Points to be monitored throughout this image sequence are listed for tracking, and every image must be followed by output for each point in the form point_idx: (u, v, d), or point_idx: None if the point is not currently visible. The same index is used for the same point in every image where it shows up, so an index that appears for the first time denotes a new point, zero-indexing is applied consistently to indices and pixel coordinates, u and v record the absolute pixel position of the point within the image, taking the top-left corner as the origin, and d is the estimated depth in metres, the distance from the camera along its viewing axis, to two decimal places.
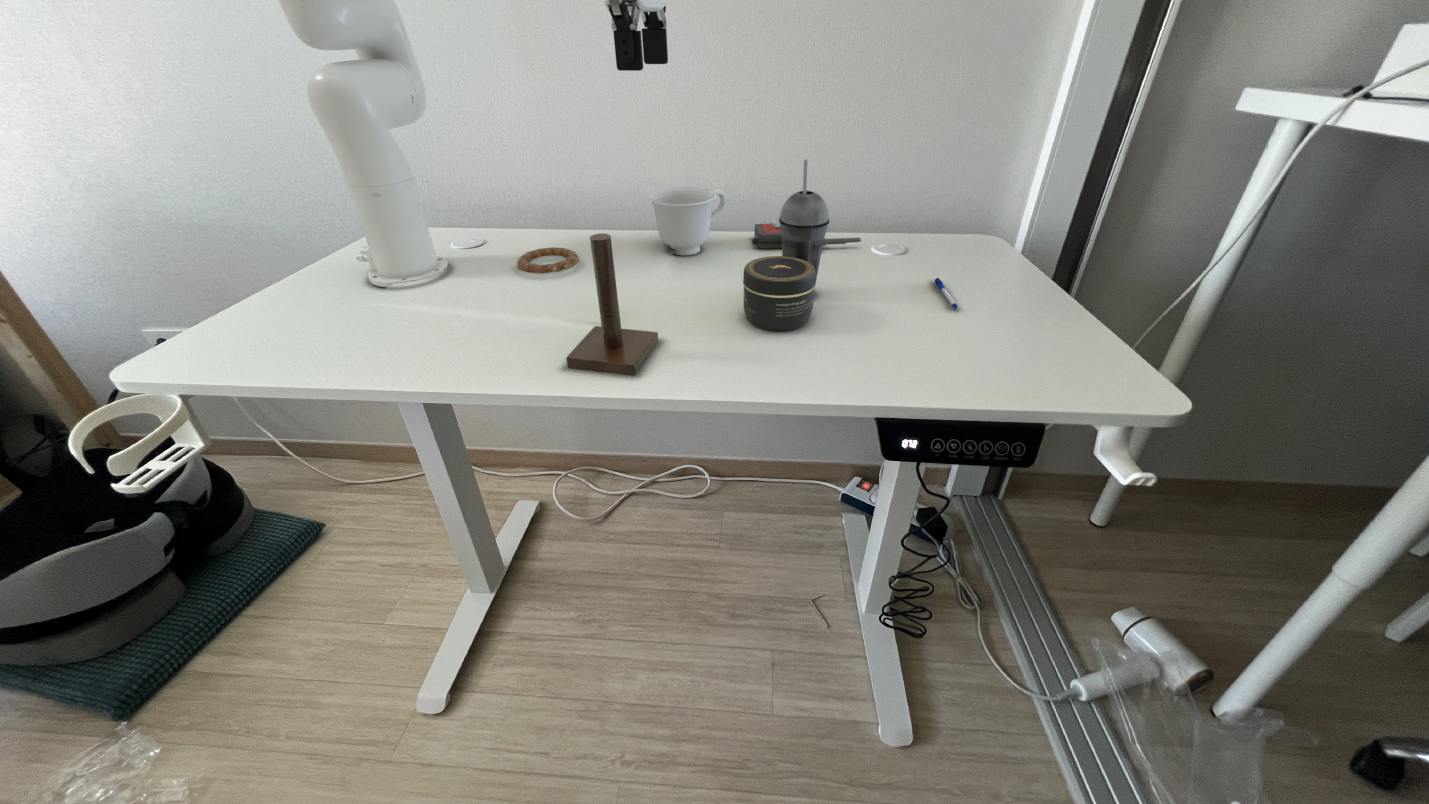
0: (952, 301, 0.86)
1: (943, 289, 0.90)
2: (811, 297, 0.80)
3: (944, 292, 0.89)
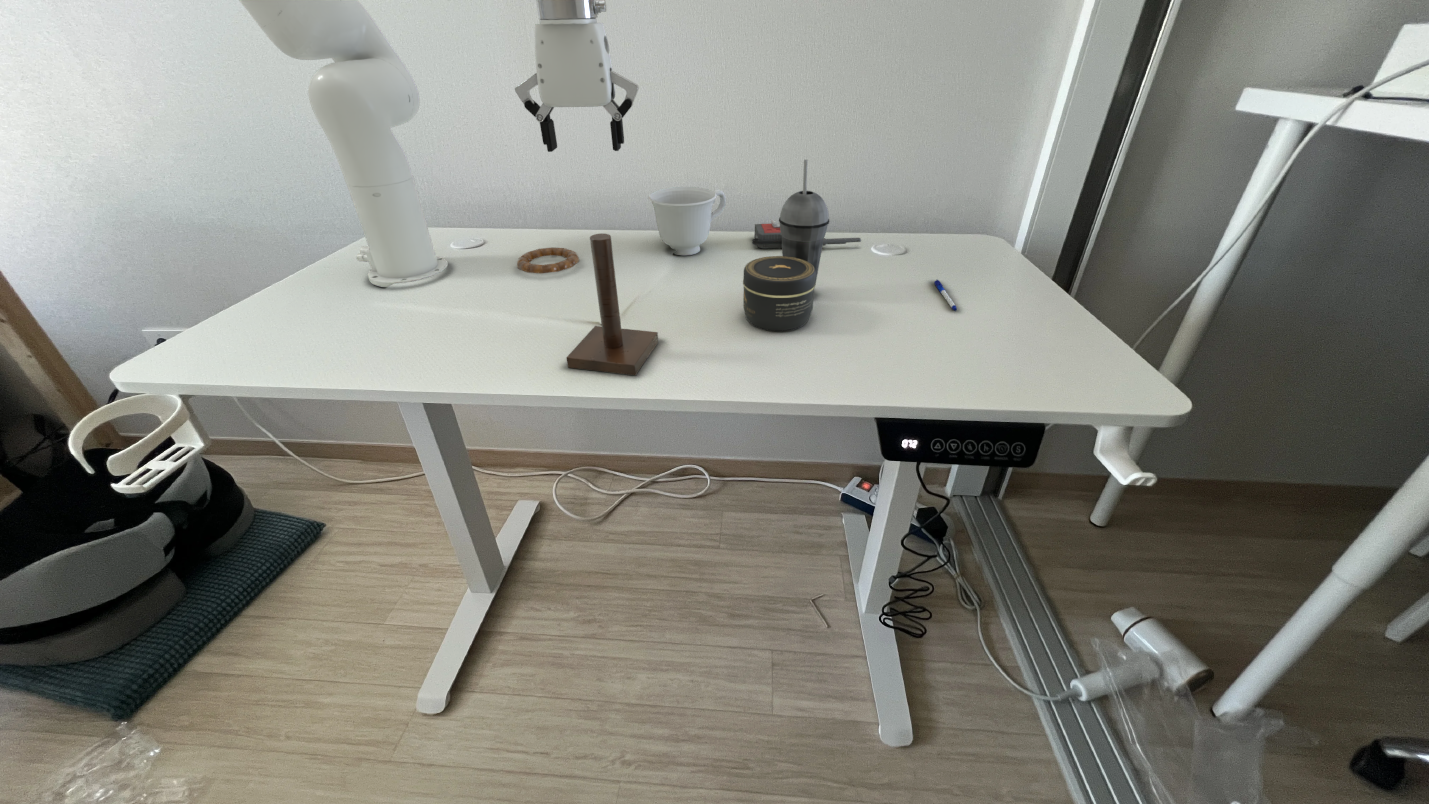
0: (951, 303, 0.87)
1: (943, 291, 0.90)
2: (811, 297, 0.80)
3: (944, 294, 0.90)
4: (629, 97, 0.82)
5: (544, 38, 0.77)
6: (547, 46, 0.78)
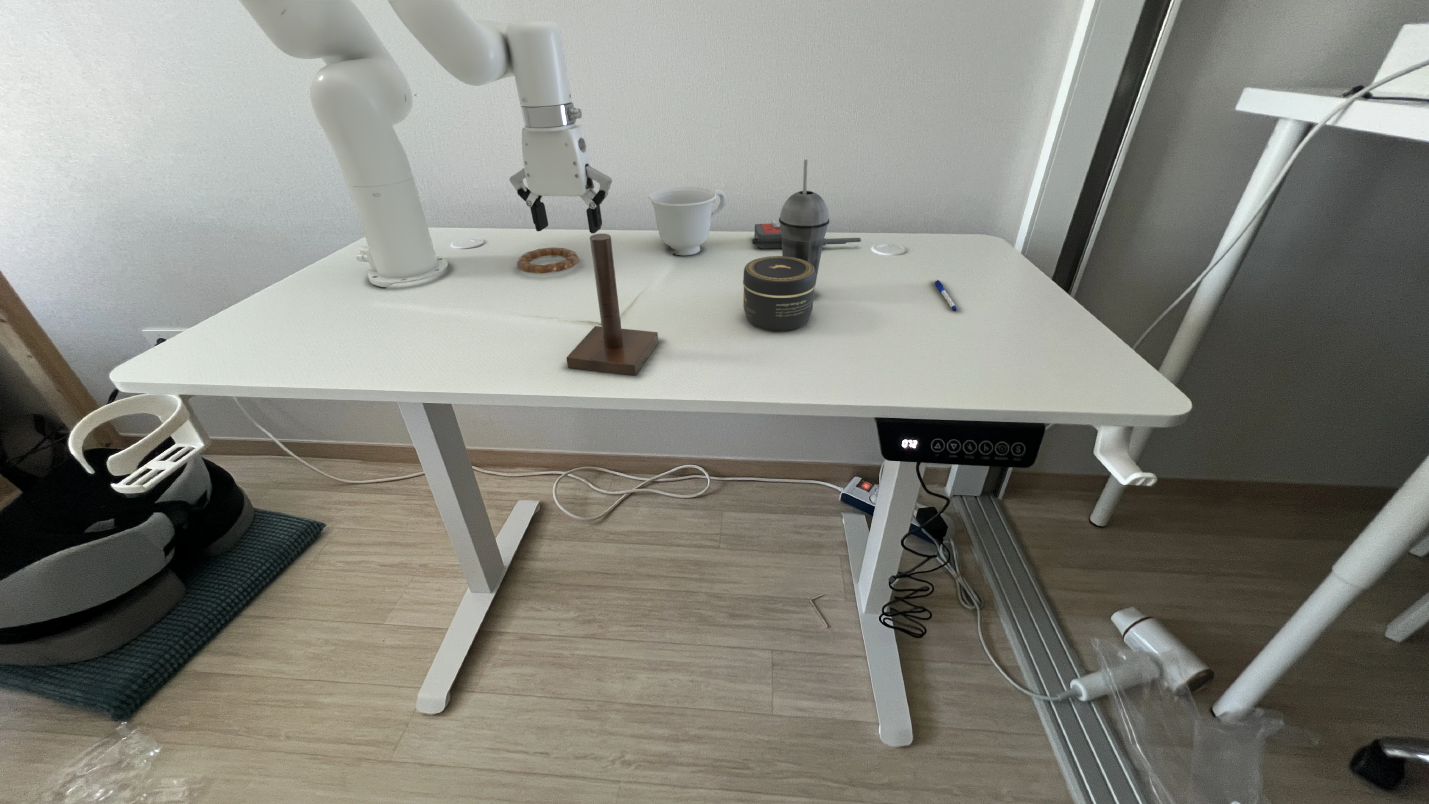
0: (951, 303, 0.87)
1: (943, 291, 0.90)
2: (811, 297, 0.80)
3: (944, 294, 0.90)
4: (602, 189, 0.92)
5: (528, 141, 0.89)
6: (531, 147, 0.89)
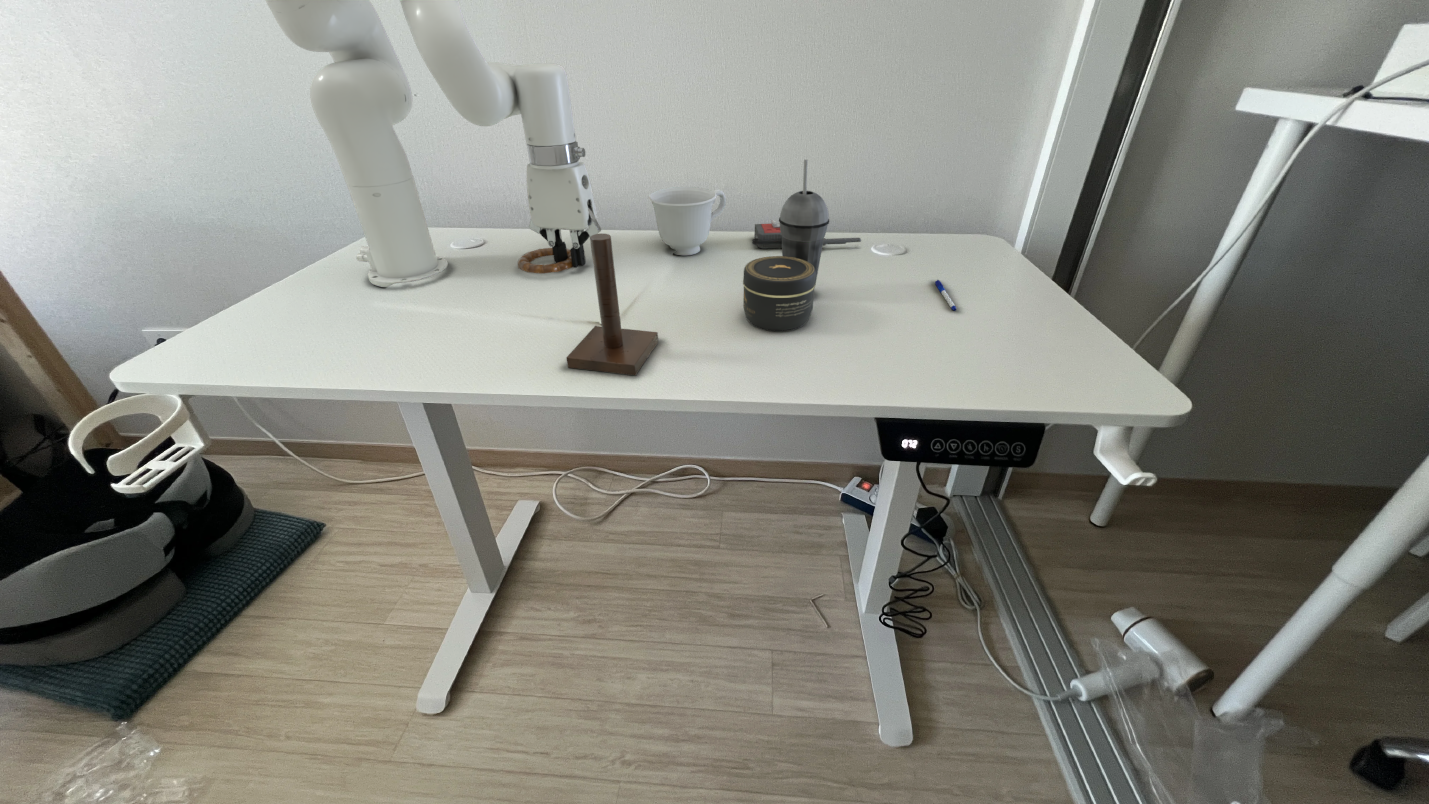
0: (951, 303, 0.87)
1: (943, 291, 0.90)
2: (811, 297, 0.80)
3: (944, 294, 0.90)
4: (586, 230, 0.96)
5: (532, 177, 0.92)
6: (535, 183, 0.92)
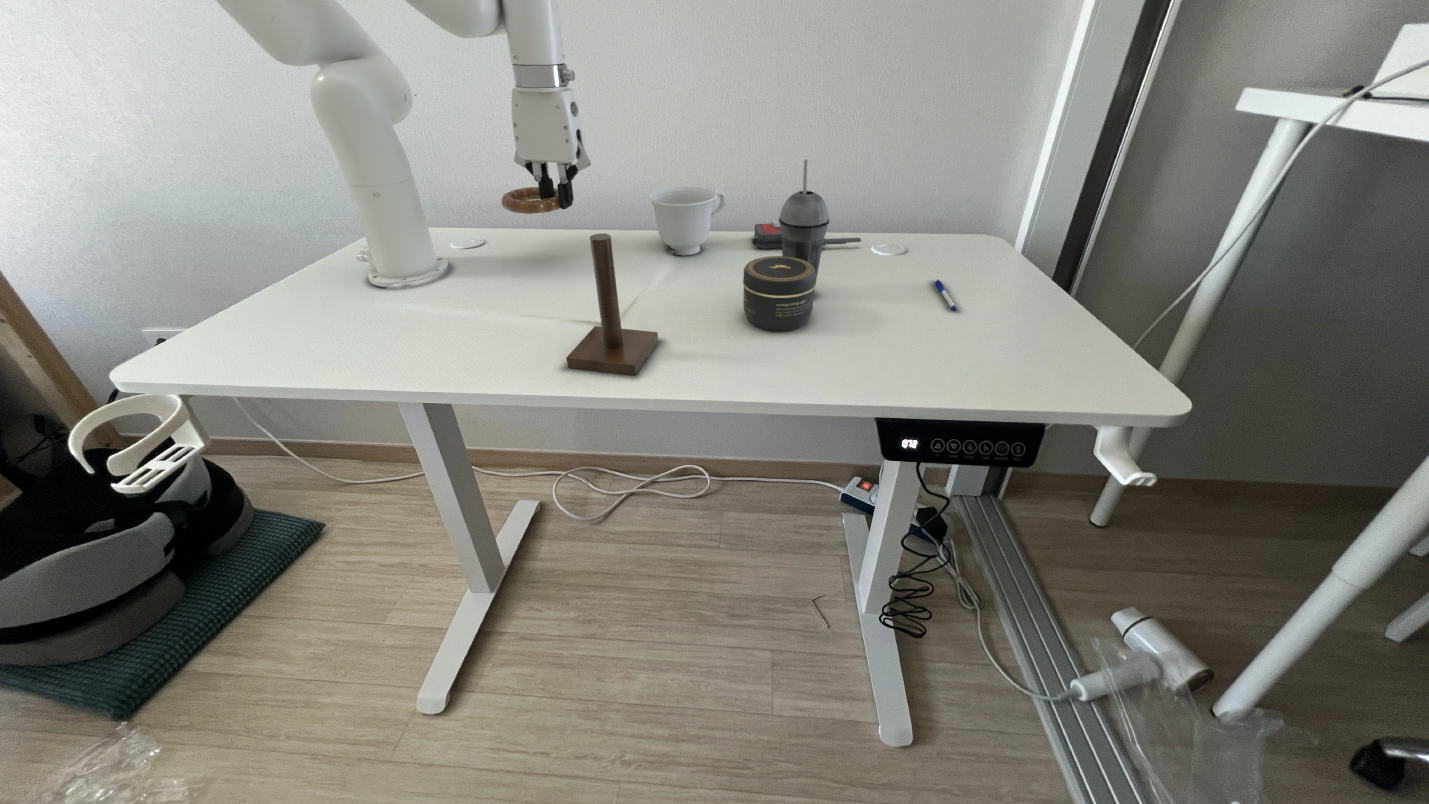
0: (951, 303, 0.87)
1: (943, 291, 0.90)
2: (811, 297, 0.80)
3: (944, 294, 0.90)
4: (574, 164, 0.91)
5: (518, 102, 0.86)
6: (521, 108, 0.86)
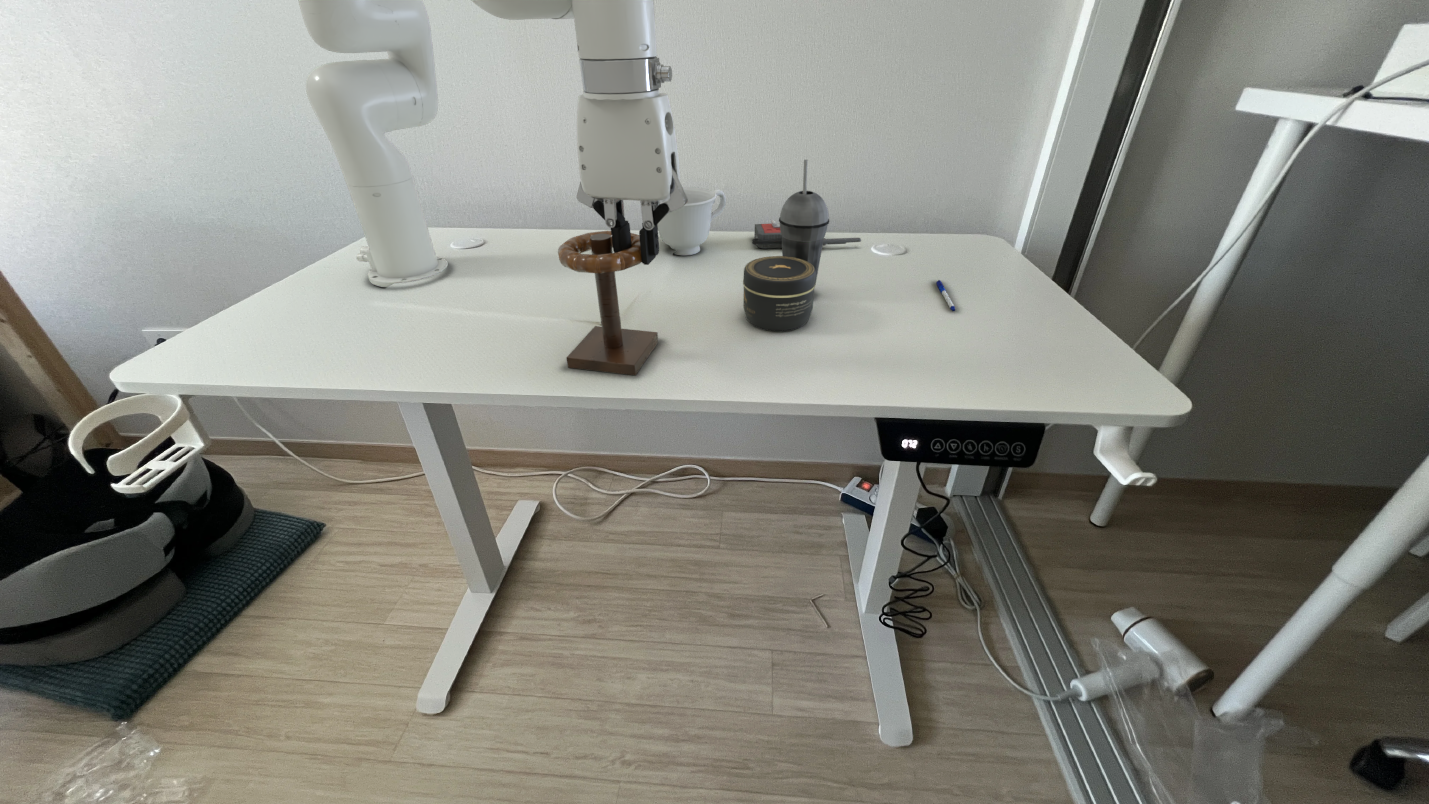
0: (950, 304, 0.87)
1: (943, 291, 0.90)
2: (811, 297, 0.80)
3: (944, 294, 0.90)
4: (665, 202, 0.63)
5: (587, 115, 0.58)
6: (591, 125, 0.59)
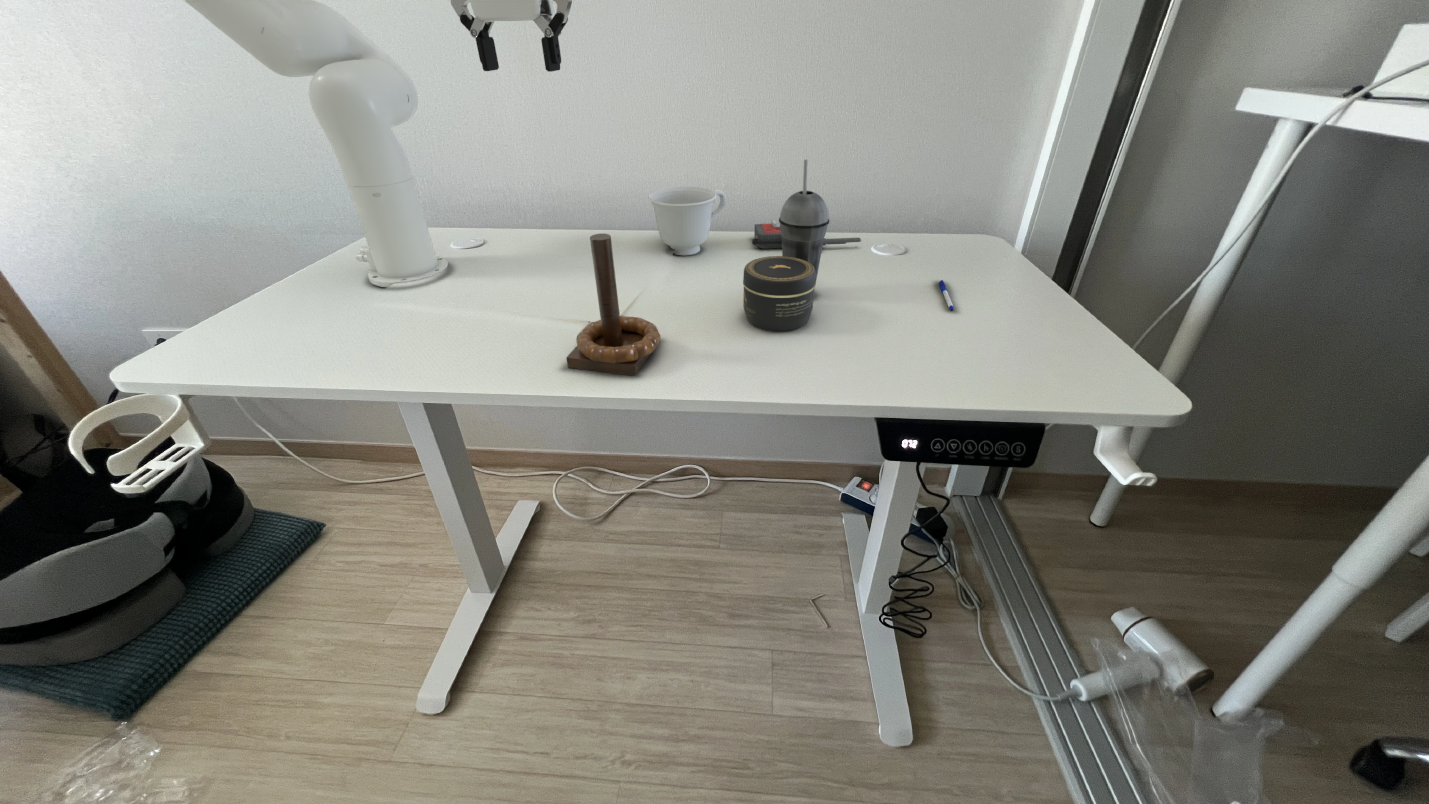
0: (949, 303, 0.87)
1: (944, 291, 0.90)
2: (811, 297, 0.80)
3: (944, 294, 0.90)
4: (560, 11, 0.77)
5: None
6: None
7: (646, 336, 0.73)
